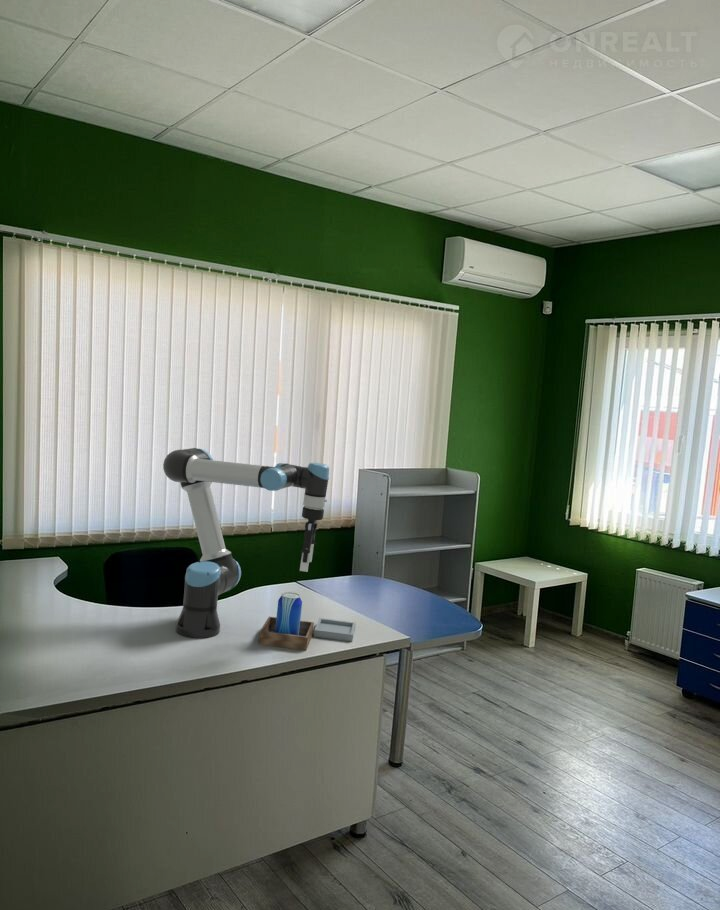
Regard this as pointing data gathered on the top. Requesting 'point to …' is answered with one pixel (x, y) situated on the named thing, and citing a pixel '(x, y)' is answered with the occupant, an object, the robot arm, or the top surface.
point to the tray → (335, 629)
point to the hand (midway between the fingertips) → (305, 566)
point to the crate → (286, 635)
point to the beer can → (288, 614)
